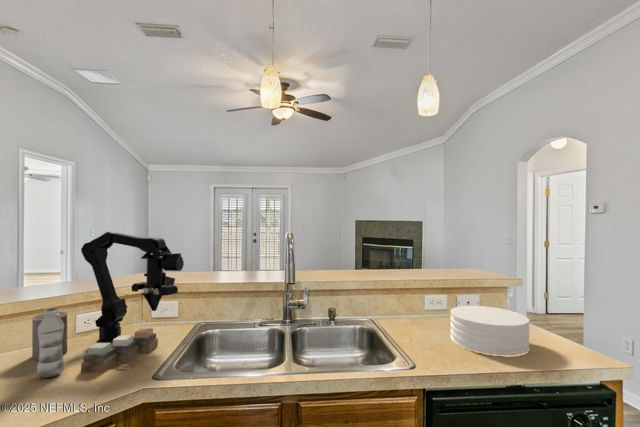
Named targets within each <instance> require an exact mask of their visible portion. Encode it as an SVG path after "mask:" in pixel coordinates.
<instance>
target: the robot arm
mask: <svg viewBox="0 0 640 427" xmlns="http://www.w3.org/2000/svg"><path fill="white" fill-rule="evenodd" d="M113 244H117V245H123V246H129V247H134V248H137V249H139V250H140V251H142V252H145V254H143V255H142V256H141V257H140V258H141V259H143V260H146V273H144V274H143V277H146V281H141V282H136V283H133V284H132V286H131V291H132V292H136V293H137V292H139V290H143V292H141V294H142V296H144V298H145V300H146V302H147V303H148V305H149V307H150V309H151V311H152V312H155V311H157V309H158V306H159V304H160V301H161V299H162V297H163V296H167V297H168V296H171V295H174V294H177V293H178V292H179V288H178V286H177V285H174V284H175V281H176V278H174V277H170V276H167V274H166V272H167V271H169V272H181V271H182V270H183V269H184V268H183V267H184V258H183V257H182V253H181V252H179V253H178V252H176V253H172V252H171V250H170V249H169V247H168V246H167V244H166V240H165V239H164V238H162V237H141V236H136V235H130V234H126V233H119V232H117V231H106V232H104V233H103V234H102V235H100V236H98V237H96V238H94V239H92V240H91V241H89V242H86V243H84V244H83V245H82V246H81V248H80V250H81V254H82V256H83V258H84V260H85V261H86V262H87V263H89V265H90V266H91V268H92V270H93V274H94V277H95V280H96V283H97V286H98V290H99V293H100V296H101V299H102V303H101V304H102V305H101V307H100V310H101V315H100V317H99V318H97V319H96V320H95V321H94V322H95V323H94V324H95V325H96V328H98V329H99V331H98V332H99V334H98V339H97V340H96V343H113V339H115V338H117V337H118V336H120V335H122V326H121V323H120V322H123V319H124V317H125V316H126V314H127V313H128V309H127V308H128V306H127V303H126V299H125V298H120V297H119V296H118V294H117V291H116V289H115V286H114V283H113V279H112V277H111V276H112V275H111V273H110V270H109V267H108V264H107V259H108V254H109V253H108V250H109V249H110V248H111V247H112V246H113Z"/></svg>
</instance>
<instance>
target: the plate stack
mask: <svg viewBox="0 0 640 427" xmlns="http://www.w3.org/2000/svg"><path fill="white" fill-rule="evenodd" d="M449 324H450V329H449V330H450V336H449V337H450V338H451V340H452V341H453V342H455V343H456V344H458V345H460V346H462V347H465V348H468V349H471V350H475V351H479V352H483V353H489V354H496V355H517V354H522V353H525V352H527V351H528V350H529V351H530V319H529V317H527V316H526V315H524V314H522V313H520V312H516V311H513V310H509V309H505V308H499V307H493V306H484V305H462V306H455V307H452V308H451V309H450V323H449ZM450 338H449V339H450ZM451 340H450V341H451ZM452 341H451V342H452Z"/></svg>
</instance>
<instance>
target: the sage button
mask: <svg viewBox="0 0 640 427" xmlns="http://www.w3.org/2000/svg"><path fill="white" fill-rule="evenodd" d="M111 345H112V342H96V343H94V344H92V345H91V346H90V347H88V348H87V353H88V355H103V354H105V353H107V352H108V351H110V350H111Z"/></svg>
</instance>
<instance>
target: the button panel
mask: <svg viewBox="0 0 640 427" xmlns="http://www.w3.org/2000/svg"><path fill="white" fill-rule="evenodd" d="M158 342H159V340H158V337H157V333H155V332H153V335H152V336H150V337H149V338H135V336H133V342H132V343H131V344H129V345H128V346H113V343H111V350H110V351H108V352H107V353H105V354H103V355H88V352H87V353H85V354H84V355H83V361H81V362H80V372H81V373H105V372H106V371H108V370H109V369H111V367H113V366H114V365H115V364H117V363H123V364H121V365H120V366H118V367H117V368H116V371H130V370H132V369H133V367H135V366H136V363H129V362H130V361H131V360H133V359H134V358H135V357H136V356H138V355H139V354H151V353H152V352H153V351H155V349H156V348H158V346H159V343H158Z"/></svg>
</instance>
